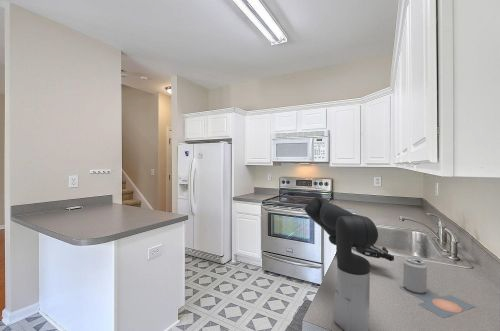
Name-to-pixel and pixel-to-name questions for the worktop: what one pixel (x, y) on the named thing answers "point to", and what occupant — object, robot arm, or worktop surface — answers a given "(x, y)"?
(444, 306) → the t mat
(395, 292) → the worktop surface
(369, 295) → the robot arm
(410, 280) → the can
